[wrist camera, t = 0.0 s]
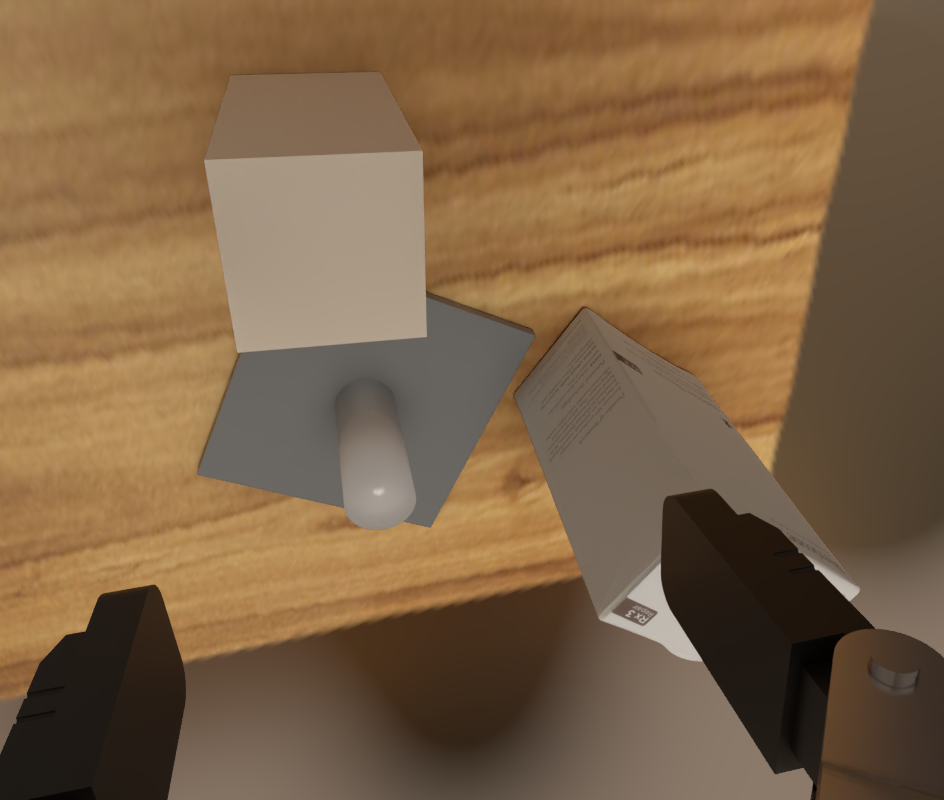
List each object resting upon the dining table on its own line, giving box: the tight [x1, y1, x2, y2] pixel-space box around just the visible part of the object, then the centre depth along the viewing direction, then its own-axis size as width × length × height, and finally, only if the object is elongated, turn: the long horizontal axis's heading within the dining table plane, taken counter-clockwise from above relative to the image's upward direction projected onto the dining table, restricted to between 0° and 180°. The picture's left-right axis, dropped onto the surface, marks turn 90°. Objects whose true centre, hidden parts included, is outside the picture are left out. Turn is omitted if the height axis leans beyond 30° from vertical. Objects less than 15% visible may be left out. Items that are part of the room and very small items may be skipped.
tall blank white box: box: [204, 72, 427, 353], centre depth 26 cm, size 5×5×11 cm
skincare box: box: [514, 308, 860, 661], centre depth 33 cm, size 8×6×15 cm
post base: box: [197, 292, 535, 530], centre depth 33 cm, size 12×12×8 cm
